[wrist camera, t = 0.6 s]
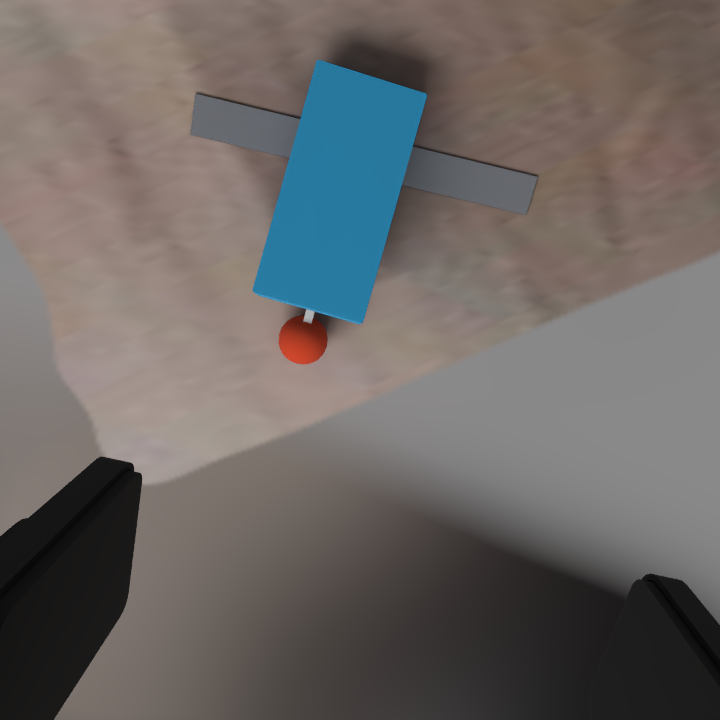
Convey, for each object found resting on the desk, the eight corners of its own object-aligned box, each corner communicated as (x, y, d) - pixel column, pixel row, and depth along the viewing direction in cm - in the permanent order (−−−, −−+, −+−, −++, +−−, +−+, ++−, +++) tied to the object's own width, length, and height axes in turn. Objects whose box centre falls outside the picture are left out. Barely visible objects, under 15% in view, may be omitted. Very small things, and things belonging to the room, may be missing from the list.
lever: (319, 109, 39) (252, 349, 40) (317, 59, 32) (235, 350, 33) (410, 137, 40) (343, 375, 40) (427, 94, 33) (346, 381, 33)
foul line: (190, 134, 36) (190, 134, 36) (196, 93, 35) (195, 93, 35) (525, 214, 37) (526, 214, 37) (537, 177, 36) (537, 177, 36)
